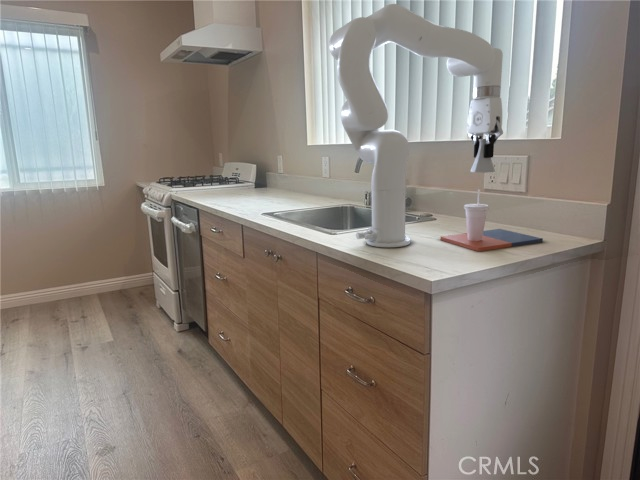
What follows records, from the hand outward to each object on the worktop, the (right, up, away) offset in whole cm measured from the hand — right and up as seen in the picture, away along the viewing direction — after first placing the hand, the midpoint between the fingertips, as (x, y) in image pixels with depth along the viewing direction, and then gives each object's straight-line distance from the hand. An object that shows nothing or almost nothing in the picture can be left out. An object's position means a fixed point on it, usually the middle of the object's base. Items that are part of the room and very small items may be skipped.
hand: (483, 156), depth 131 cm
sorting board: (-1, -26, -9) cm, 27 cm away
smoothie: (-6, -25, -11) cm, 28 cm away
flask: (0, -5, +1) cm, 5 cm away
